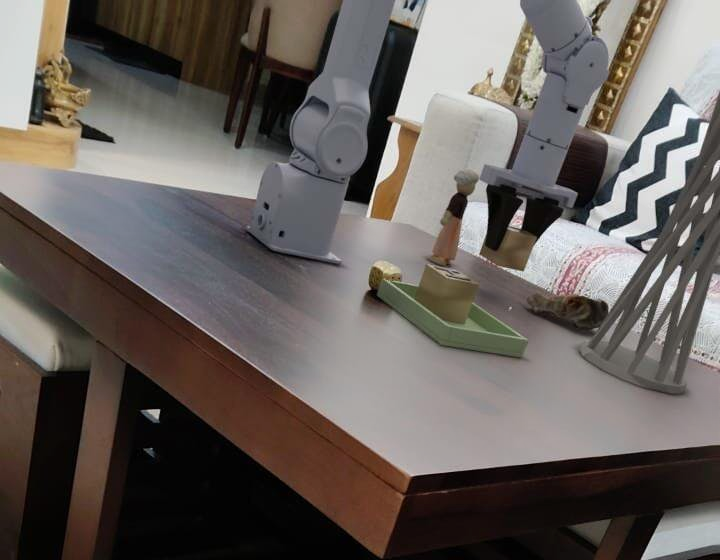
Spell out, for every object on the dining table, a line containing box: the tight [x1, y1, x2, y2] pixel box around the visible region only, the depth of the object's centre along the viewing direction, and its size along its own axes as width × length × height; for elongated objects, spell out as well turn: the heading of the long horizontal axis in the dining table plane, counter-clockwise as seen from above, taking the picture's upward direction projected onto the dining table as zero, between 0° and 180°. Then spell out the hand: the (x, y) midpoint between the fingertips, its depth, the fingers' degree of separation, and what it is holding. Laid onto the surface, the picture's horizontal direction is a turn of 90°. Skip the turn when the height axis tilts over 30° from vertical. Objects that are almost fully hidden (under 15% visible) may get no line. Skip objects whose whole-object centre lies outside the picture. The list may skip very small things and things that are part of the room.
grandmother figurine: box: [427, 167, 480, 267], centre depth 138 cm, size 8×4×13 cm, turn 168°
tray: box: [376, 278, 530, 358], centre depth 110 cm, size 11×14×2 cm
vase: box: [578, 90, 720, 395], centre depth 112 cm, size 14×13×35 cm
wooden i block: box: [479, 223, 537, 272], centre depth 129 cm, size 4×4×5 cm
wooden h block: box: [414, 263, 480, 324], centre depth 110 cm, size 4×4×5 cm
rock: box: [526, 292, 610, 331], centre depth 131 cm, size 9×6×10 cm
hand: (505, 252), depth 130 cm, fingers closed on wooden i block, 4 cm apart
